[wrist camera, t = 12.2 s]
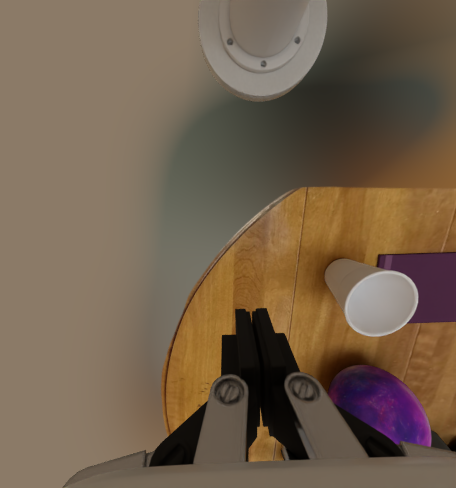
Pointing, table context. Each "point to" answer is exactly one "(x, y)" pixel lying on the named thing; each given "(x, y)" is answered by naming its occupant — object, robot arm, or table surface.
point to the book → (428, 283)
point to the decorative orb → (381, 403)
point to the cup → (372, 296)
